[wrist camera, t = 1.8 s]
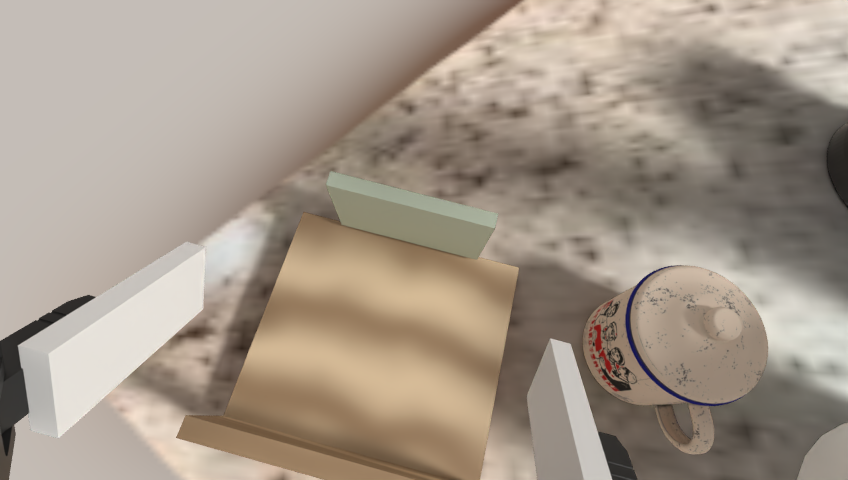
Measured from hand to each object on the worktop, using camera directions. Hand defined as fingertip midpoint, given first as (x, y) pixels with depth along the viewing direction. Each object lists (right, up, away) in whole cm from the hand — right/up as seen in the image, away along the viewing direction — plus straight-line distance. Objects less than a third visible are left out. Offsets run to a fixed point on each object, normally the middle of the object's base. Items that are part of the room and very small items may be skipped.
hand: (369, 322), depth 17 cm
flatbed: (-1, -5, +20) cm, 20 cm away
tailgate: (+1, +3, +20) cm, 20 cm away
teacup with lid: (+19, -7, +20) cm, 29 cm away
